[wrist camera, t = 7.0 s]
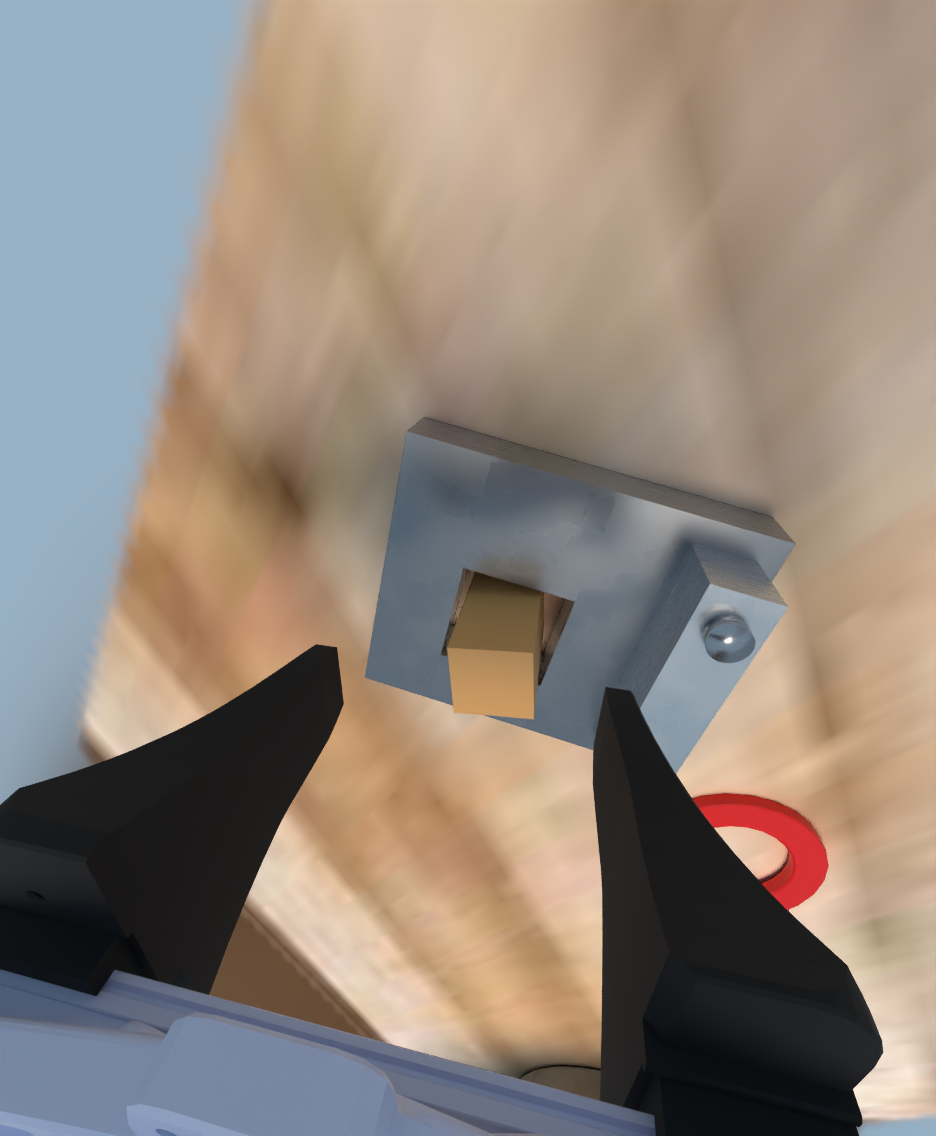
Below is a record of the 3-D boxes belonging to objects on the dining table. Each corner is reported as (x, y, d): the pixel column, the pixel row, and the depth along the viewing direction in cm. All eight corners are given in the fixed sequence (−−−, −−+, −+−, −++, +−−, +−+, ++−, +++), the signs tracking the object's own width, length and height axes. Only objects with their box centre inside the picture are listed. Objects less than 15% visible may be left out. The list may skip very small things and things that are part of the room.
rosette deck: (772, 517, 20) (843, 598, 14) (647, 730, 26) (664, 842, 20) (424, 417, 20) (371, 459, 15) (381, 646, 26) (333, 734, 21)
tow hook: (649, 777, 28) (635, 894, 32) (709, 1140, 15) (674, 1255, 20) (836, 795, 26) (796, 917, 30) (1074, 1222, 14) (950, 1328, 18)
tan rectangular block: (543, 570, 22) (533, 652, 17) (543, 626, 24) (533, 719, 19) (476, 568, 23) (447, 647, 18) (480, 623, 24) (453, 712, 19)
